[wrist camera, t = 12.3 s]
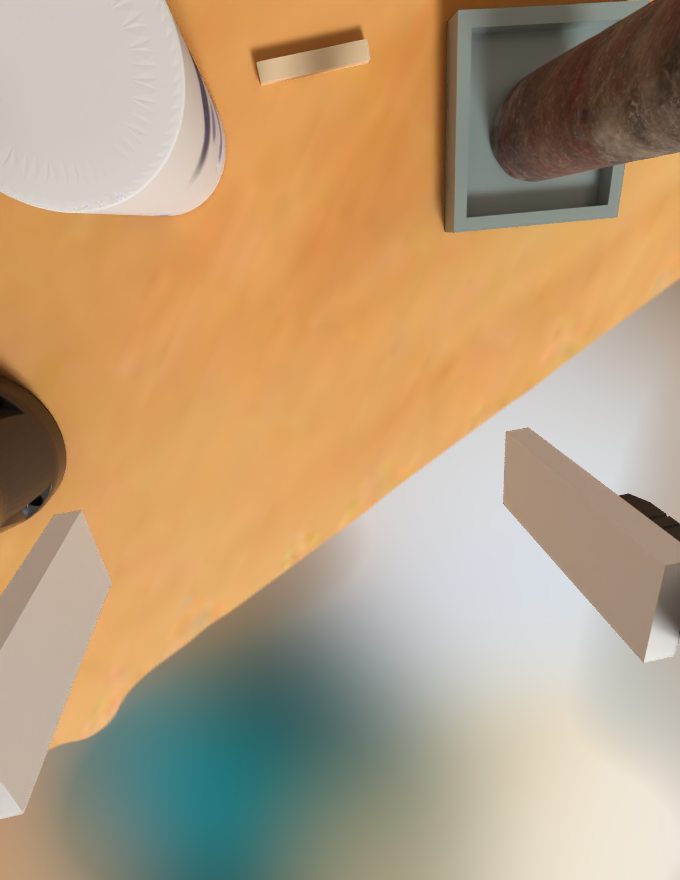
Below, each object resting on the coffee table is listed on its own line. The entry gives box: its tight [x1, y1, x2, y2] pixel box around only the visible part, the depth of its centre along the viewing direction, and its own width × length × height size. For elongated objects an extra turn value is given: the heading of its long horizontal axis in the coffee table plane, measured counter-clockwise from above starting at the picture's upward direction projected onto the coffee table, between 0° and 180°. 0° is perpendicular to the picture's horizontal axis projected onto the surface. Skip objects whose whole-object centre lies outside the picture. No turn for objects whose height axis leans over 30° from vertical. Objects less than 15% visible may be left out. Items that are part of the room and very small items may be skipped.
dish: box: [445, 0, 649, 233], centre depth 38 cm, size 14×14×2 cm
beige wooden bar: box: [256, 39, 370, 86], centre depth 35 cm, size 8×1×1 cm, turn 101°
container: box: [0, 0, 226, 216], centre depth 27 cm, size 10×10×20 cm
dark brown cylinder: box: [491, 0, 680, 182], centre depth 29 cm, size 8×7×20 cm
